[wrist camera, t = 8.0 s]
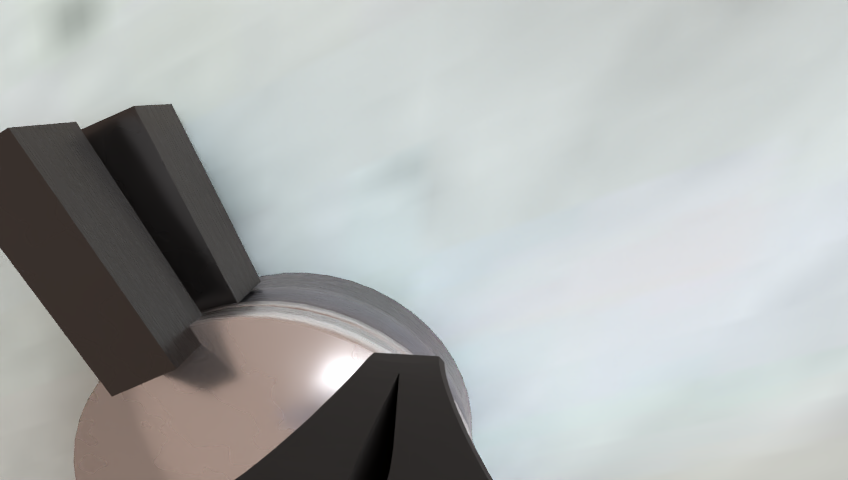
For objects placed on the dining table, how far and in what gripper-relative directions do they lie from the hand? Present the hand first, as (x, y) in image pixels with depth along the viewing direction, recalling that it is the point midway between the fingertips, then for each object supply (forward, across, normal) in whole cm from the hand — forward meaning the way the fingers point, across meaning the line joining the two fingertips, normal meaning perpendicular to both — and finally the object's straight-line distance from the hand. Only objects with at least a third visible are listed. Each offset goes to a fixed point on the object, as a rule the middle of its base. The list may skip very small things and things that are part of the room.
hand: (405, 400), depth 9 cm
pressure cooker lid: (+6, +7, +6) cm, 11 cm away
